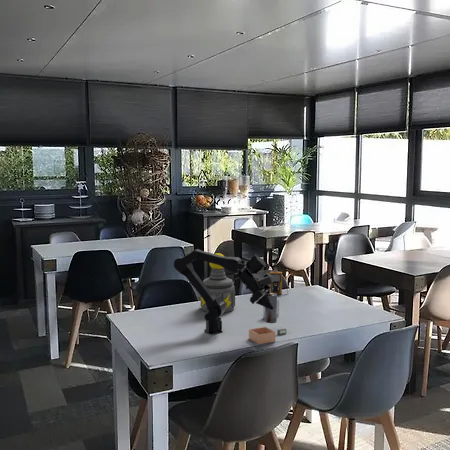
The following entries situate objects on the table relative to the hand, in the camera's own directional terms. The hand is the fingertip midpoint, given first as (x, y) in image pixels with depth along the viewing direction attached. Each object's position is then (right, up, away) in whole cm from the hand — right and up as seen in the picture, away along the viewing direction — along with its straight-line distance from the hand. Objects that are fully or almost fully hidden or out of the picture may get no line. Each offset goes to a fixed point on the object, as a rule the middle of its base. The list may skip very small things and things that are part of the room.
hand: (274, 307), depth 215 cm
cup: (-5, -14, -3) cm, 15 cm away
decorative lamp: (-25, -9, +48) cm, 55 cm away
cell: (-1, -6, +1) cm, 7 cm away
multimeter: (+9, -6, +79) cm, 79 cm away
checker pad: (+2, -13, +8) cm, 15 cm away
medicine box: (+2, -10, +33) cm, 35 cm away
